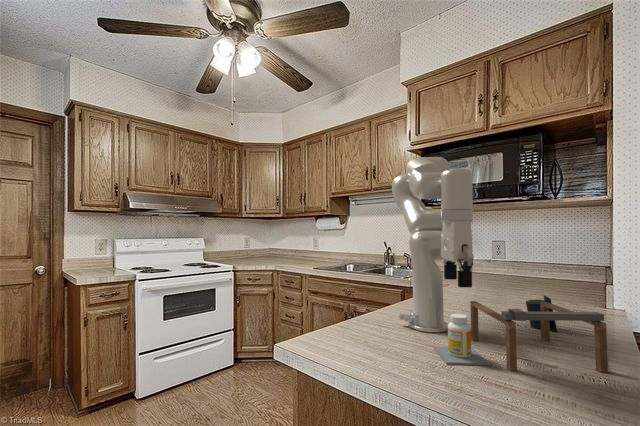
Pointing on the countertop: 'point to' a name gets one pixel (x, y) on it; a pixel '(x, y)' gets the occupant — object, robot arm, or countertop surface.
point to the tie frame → (511, 348)
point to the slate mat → (452, 360)
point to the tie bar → (551, 315)
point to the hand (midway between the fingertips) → (457, 282)
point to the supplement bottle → (459, 336)
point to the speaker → (535, 307)
